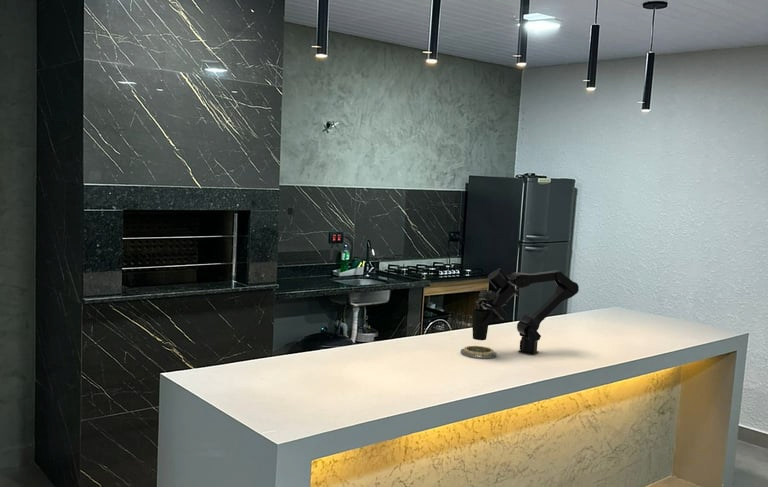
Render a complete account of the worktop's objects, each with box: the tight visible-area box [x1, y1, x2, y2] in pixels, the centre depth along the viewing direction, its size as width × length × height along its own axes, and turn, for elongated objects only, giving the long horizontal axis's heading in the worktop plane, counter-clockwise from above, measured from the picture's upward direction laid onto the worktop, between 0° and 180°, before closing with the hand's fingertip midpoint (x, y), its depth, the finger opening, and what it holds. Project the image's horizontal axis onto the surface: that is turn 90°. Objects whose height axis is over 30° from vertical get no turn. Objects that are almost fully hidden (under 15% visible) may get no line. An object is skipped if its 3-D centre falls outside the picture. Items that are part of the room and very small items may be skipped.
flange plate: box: [460, 345, 497, 360], centre depth 287 cm, size 15×15×2 cm
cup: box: [471, 308, 489, 341], centre depth 287 cm, size 8×8×12 cm
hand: (477, 322), depth 286 cm, fingers closed on cup, 8 cm apart
